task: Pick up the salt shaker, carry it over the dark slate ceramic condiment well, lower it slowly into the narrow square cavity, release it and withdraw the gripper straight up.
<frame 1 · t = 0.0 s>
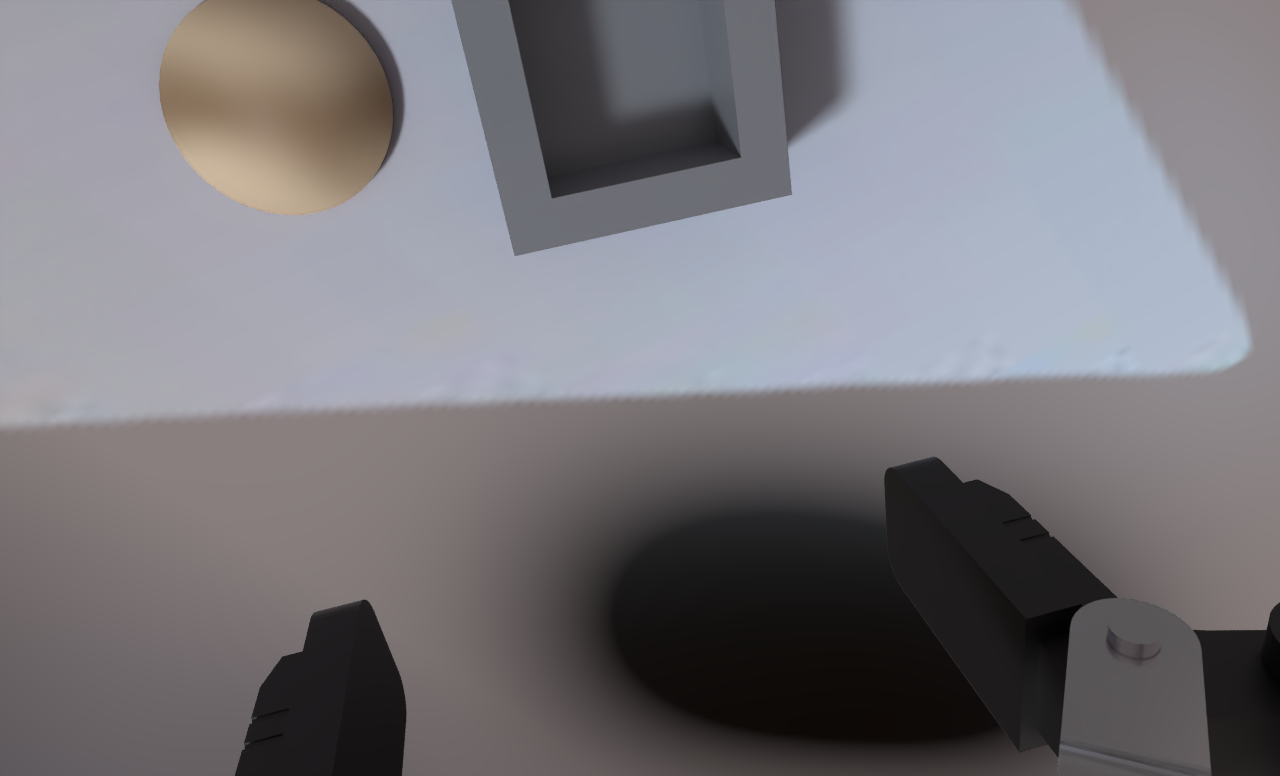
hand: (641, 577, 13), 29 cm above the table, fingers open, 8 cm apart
well: (611, 64, 38), on the table
cork coaster: (282, 105, 36), on the table
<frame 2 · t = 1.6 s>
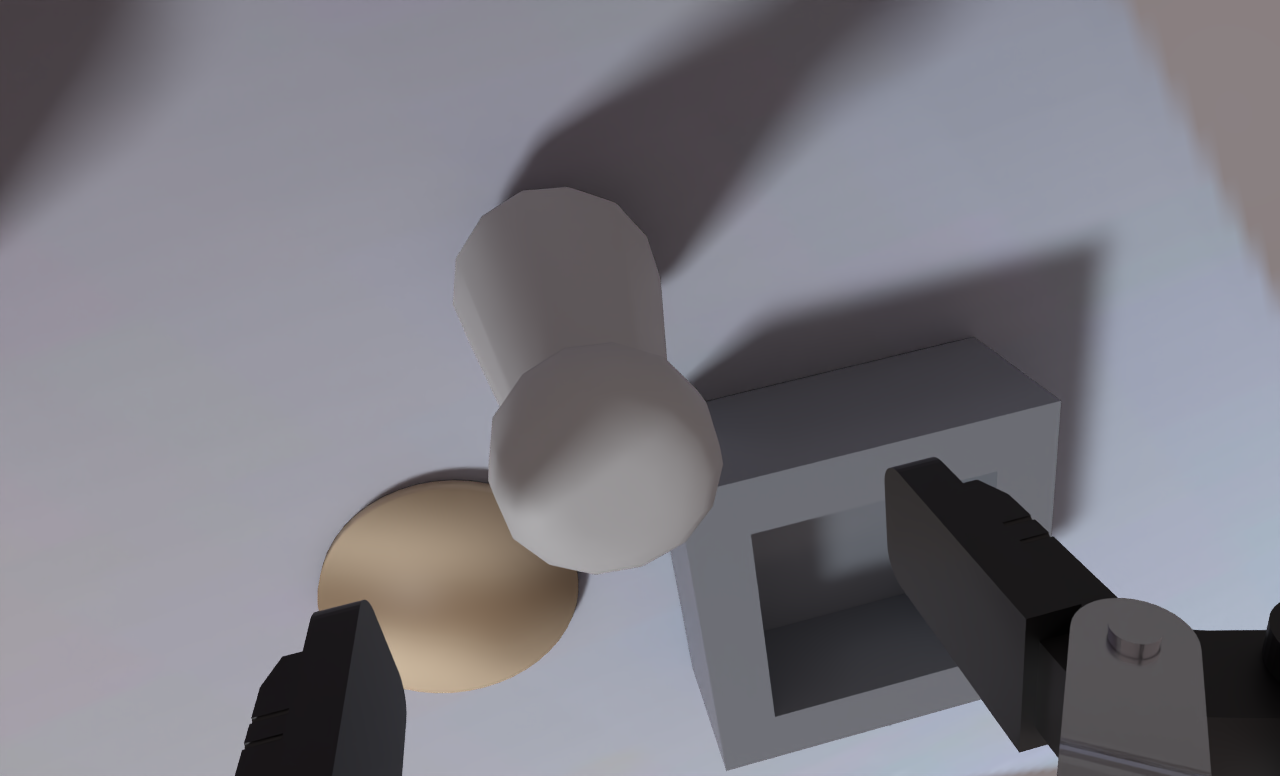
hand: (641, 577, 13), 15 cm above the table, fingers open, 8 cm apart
salt shaker: (549, 262, 26), on the table
well: (823, 514, 33), on the table
cork coaster: (452, 586, 31), on the table
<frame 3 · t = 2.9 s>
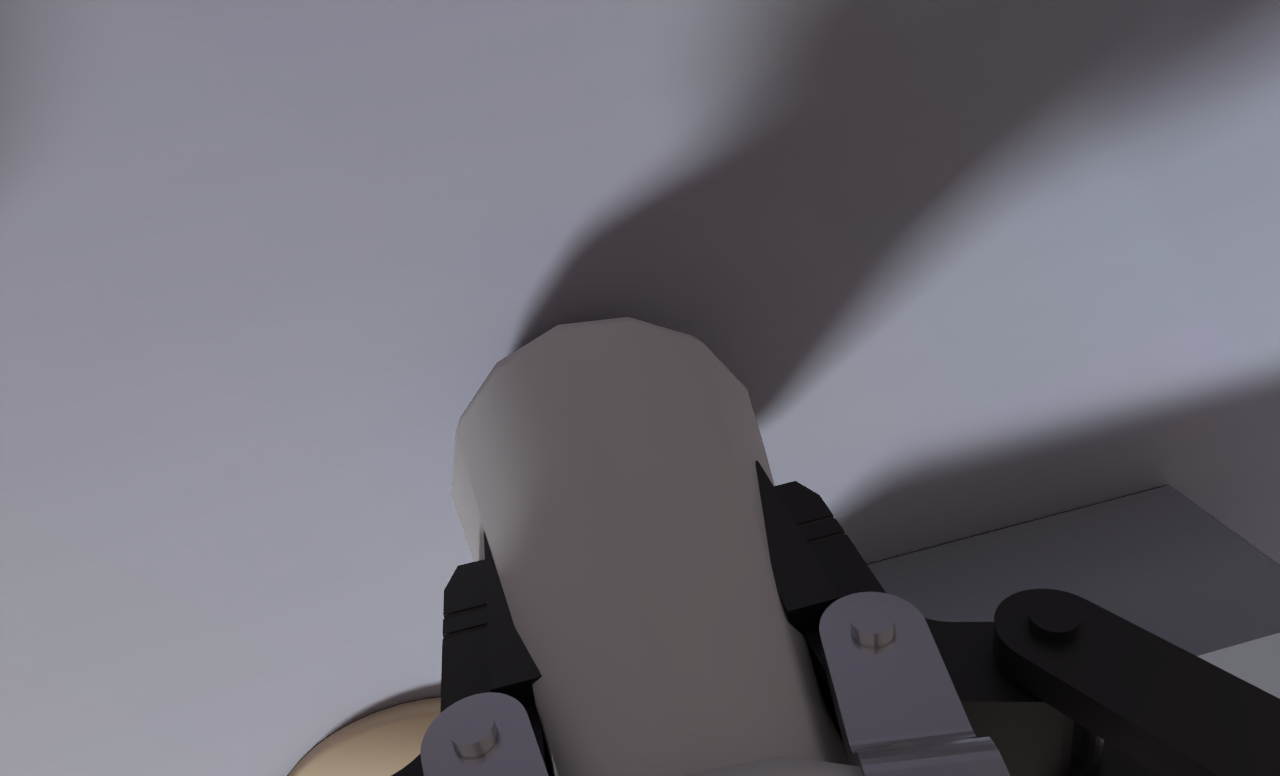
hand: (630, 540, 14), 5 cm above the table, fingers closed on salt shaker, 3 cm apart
salt shaker: (591, 406, 18), on the table, touching gripper
well: (950, 711, 24), on the table
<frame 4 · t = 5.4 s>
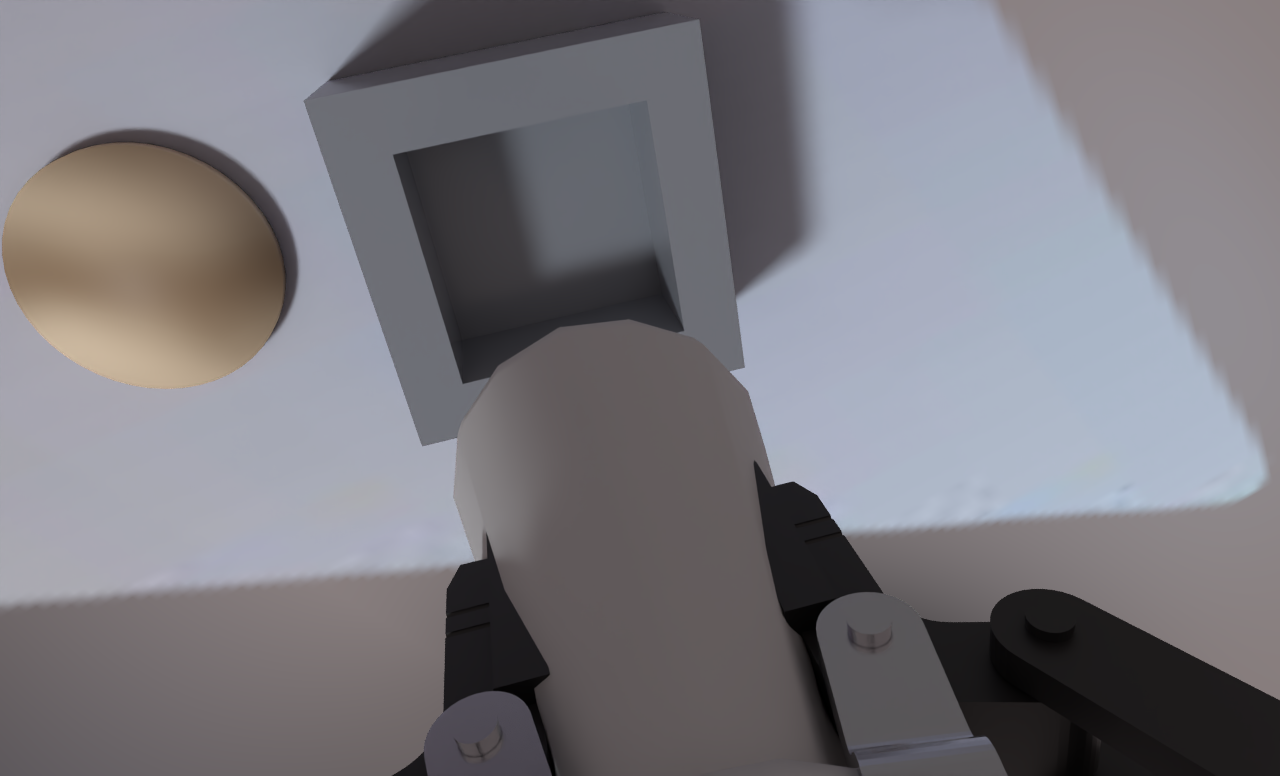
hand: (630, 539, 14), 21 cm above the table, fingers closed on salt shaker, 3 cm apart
salt shaker: (593, 408, 18), point 16 cm above the table, touching gripper
well: (537, 211, 33), on the table
cork coaster: (153, 269, 31), on the table
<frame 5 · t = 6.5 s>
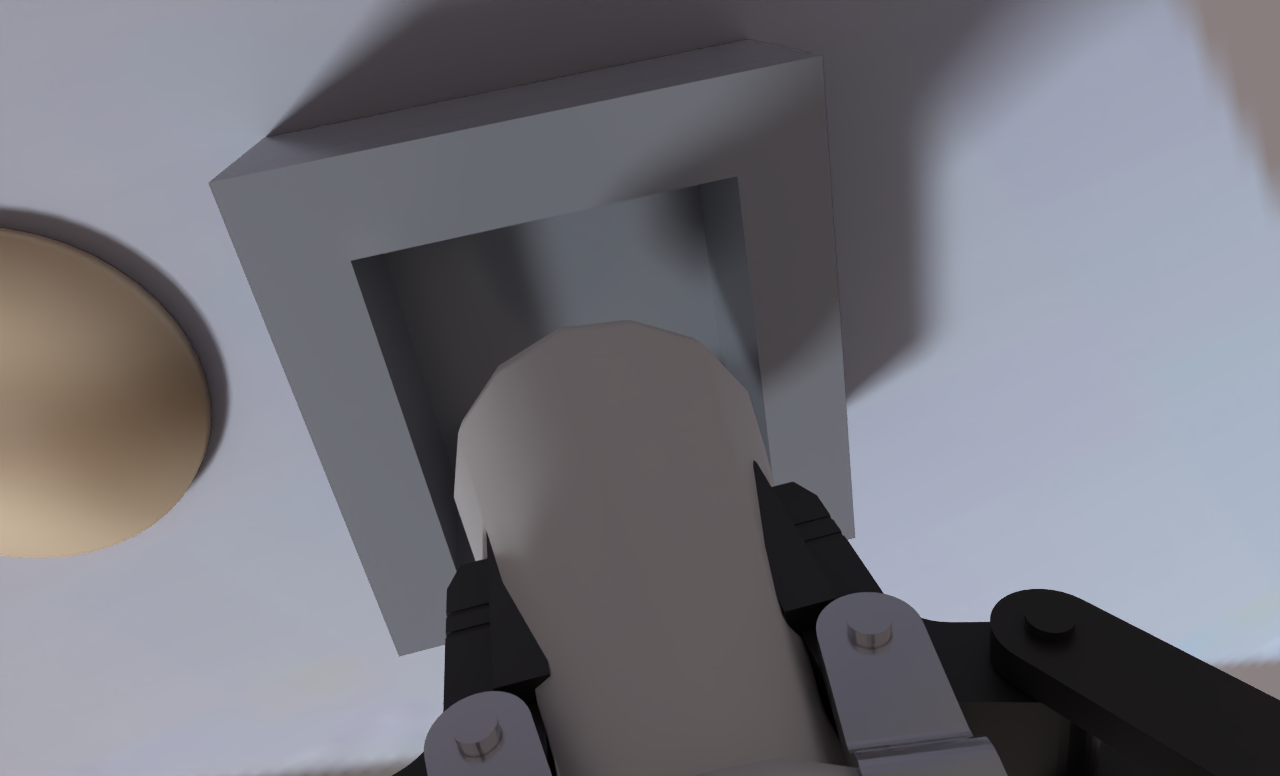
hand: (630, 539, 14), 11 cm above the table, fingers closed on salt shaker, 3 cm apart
salt shaker: (593, 408, 18), point 6 cm above the table, touching gripper
well: (563, 312, 24), on the table
cork coaster: (20, 399, 22), on the table
when the fingers open (7 cm above the table, at t = 7.6 s): salt shaker drops 1 cm, resting on well.
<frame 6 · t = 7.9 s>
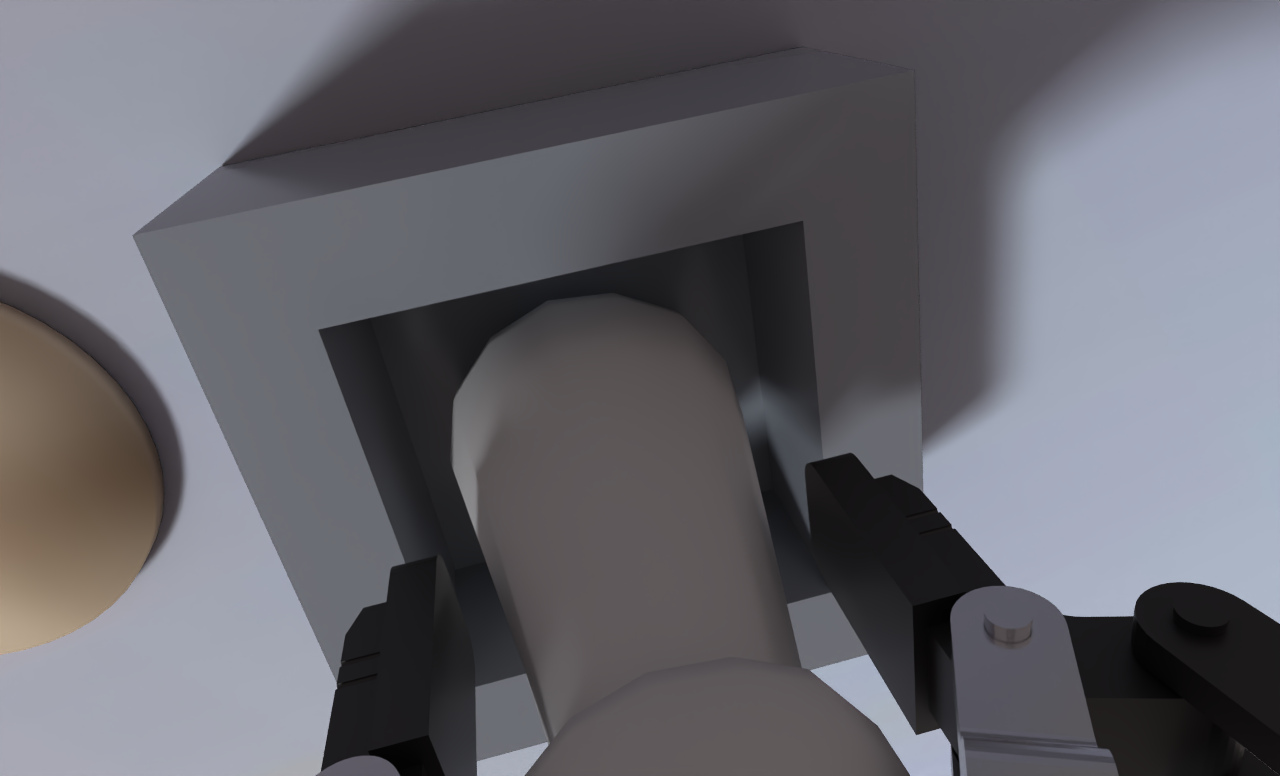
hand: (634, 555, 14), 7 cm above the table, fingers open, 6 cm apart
salt shaker: (582, 381, 19), point 1 cm above the table, touching well
well: (579, 367, 20), on the table
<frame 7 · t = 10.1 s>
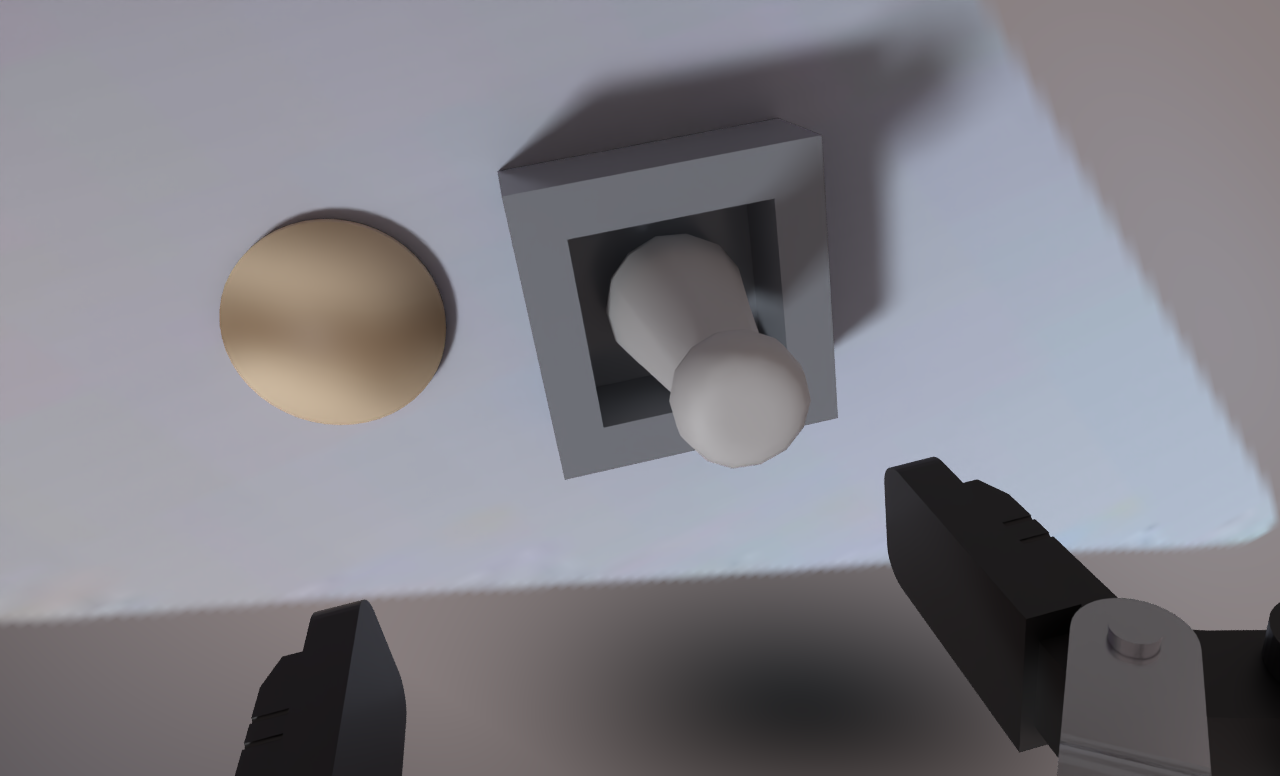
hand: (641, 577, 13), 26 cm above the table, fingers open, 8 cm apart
salt shaker: (663, 285, 38), point 1 cm above the table, touching well
well: (660, 280, 38), on the table
cork coaster: (337, 323, 36), on the table
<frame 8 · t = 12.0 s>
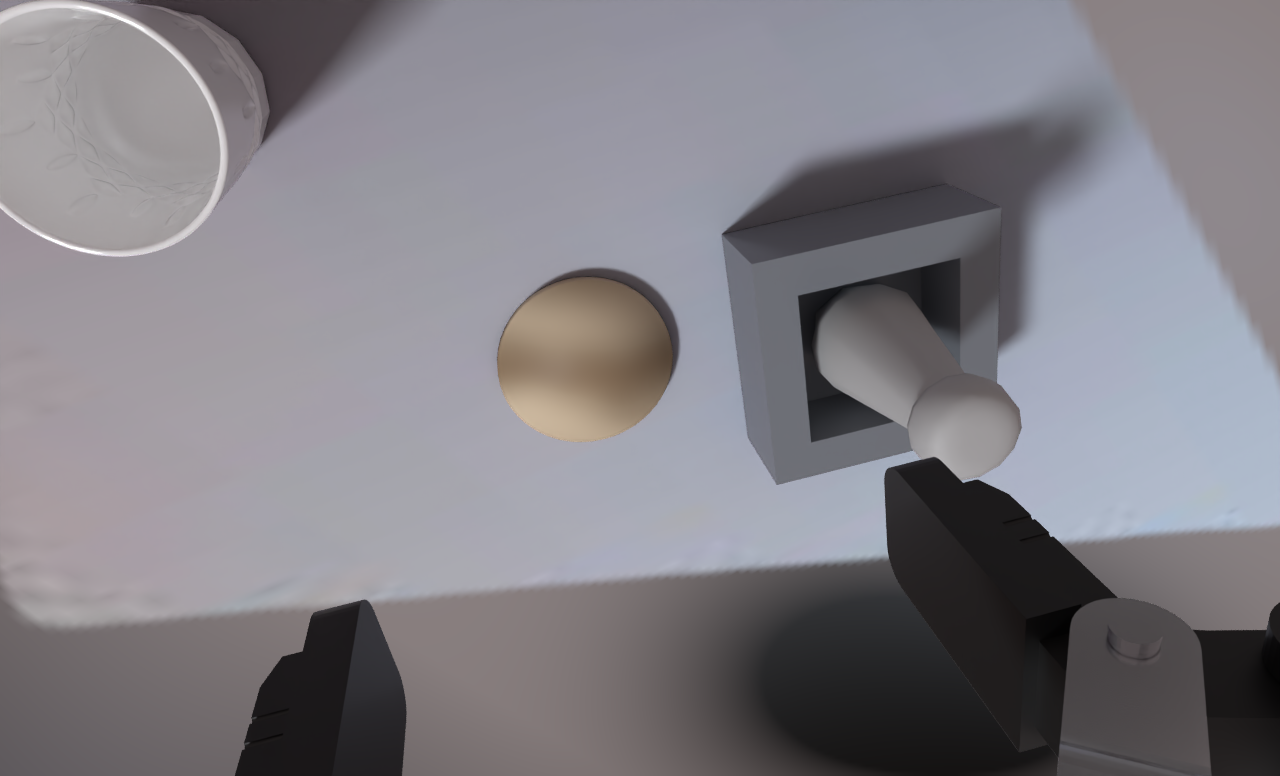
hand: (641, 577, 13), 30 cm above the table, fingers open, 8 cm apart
salt shaker: (848, 322, 45), point 1 cm above the table, touching well
well: (842, 317, 46), on the table
white cup: (185, 95, 36), on the table
cork coaster: (585, 360, 44), on the table
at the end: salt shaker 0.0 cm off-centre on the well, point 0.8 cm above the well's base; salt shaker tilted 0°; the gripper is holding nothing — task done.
